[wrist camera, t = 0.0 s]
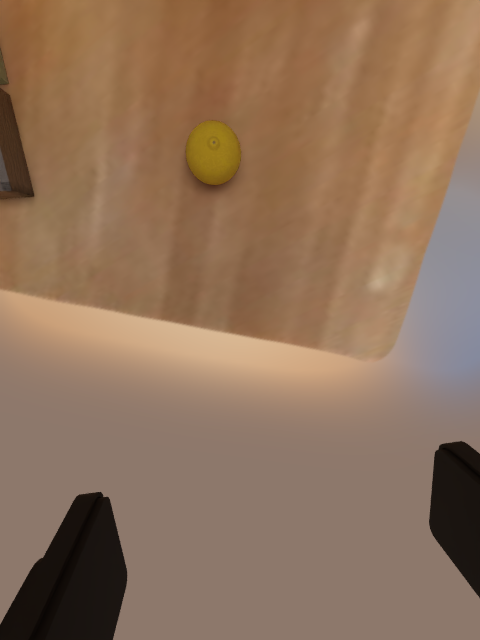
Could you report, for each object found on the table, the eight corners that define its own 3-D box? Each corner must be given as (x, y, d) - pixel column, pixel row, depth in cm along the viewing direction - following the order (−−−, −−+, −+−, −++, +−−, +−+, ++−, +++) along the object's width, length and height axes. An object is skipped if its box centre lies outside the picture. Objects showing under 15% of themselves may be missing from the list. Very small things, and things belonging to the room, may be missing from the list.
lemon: (199, 197, 36) (195, 184, 28) (181, 146, 34) (172, 118, 26) (244, 181, 36) (252, 164, 28) (228, 130, 34) (233, 97, 26)
